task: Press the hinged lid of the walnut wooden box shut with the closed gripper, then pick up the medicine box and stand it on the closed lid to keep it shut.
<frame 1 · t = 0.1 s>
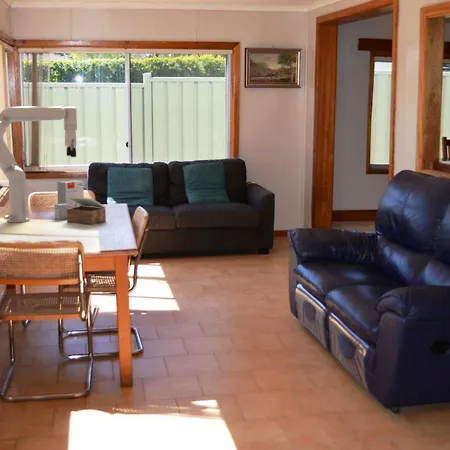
hand: (71, 156, 432), 37 cm above the table, tool pointing down, fingers open, 9 cm apart
wooden box: (86, 221, 423), on the table
medicine box: (62, 218, 434), on the table
lid: (86, 202, 422), point 12 cm above the table, hinge at 28.0°
hard drive box: (71, 212, 456), on the table
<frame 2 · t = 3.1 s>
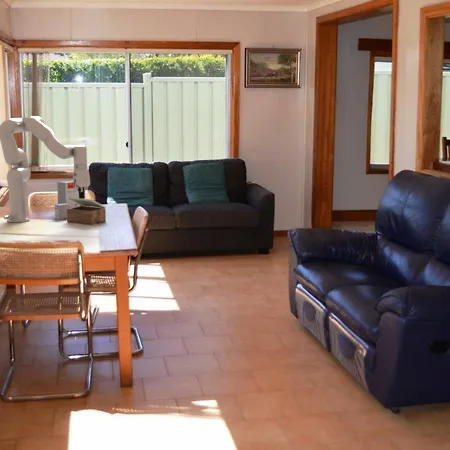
hand: (82, 198, 417), 14 cm above the table, tool pointing down, fingers closed
lid: (86, 202, 422), point 11 cm above the table, hinge at 25.9°, touching gripper
everything else where it was.
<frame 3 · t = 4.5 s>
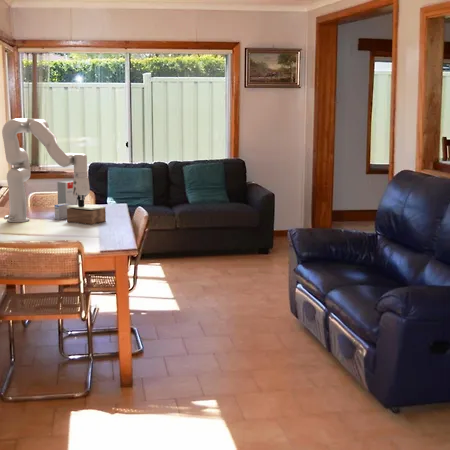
hand: (81, 206, 418), 10 cm above the table, tool pointing down, fingers closed
lid: (86, 207, 421), point 9 cm above the table, hinge at 3.0°
everything else where it was.
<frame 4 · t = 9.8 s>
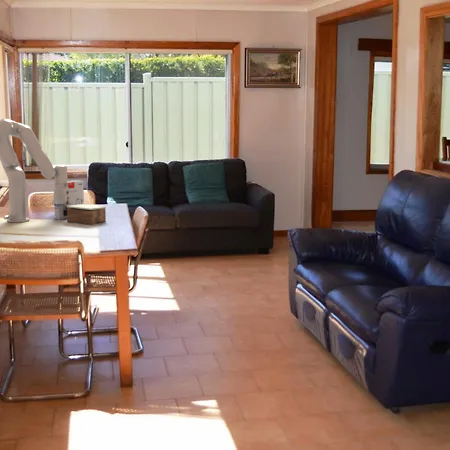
hand: (62, 215, 433), 2 cm above the table, tool pointing down, fingers closed on medicine box, 5 cm apart
medicine box: (62, 218, 434), on the table, touching gripper
everything else where it was.
when the fingers open (12 cm above the table, at t = 15.0 s): medicine box drops 1 cm, resting on lid.
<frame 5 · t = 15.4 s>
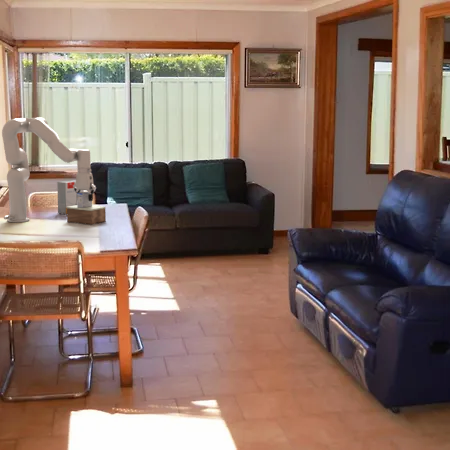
hand: (84, 200, 420), 13 cm above the table, tool pointing down, fingers open, 8 cm apart
medicine box: (84, 207, 421), point 9 cm above the table, touching lid
lid: (86, 207, 421), point 9 cm above the table, hinge at 0.9°, touching medicine box
everything else where it was.
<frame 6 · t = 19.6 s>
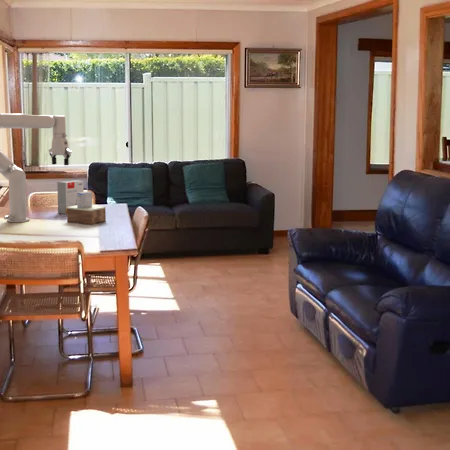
hand: (60, 164, 431), 32 cm above the table, tool pointing down, fingers open, 9 cm apart
lid: (86, 207, 421), point 8 cm above the table, hinge at -0.1°, touching medicine box
everything else where it was.
at the end: lid at +0° (first picture: +28°); medicine box inside the target area on the wooden box (1.1 cm from its centre), point 8.7 cm above the wooden box's base; medicine box tilted 0° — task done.
